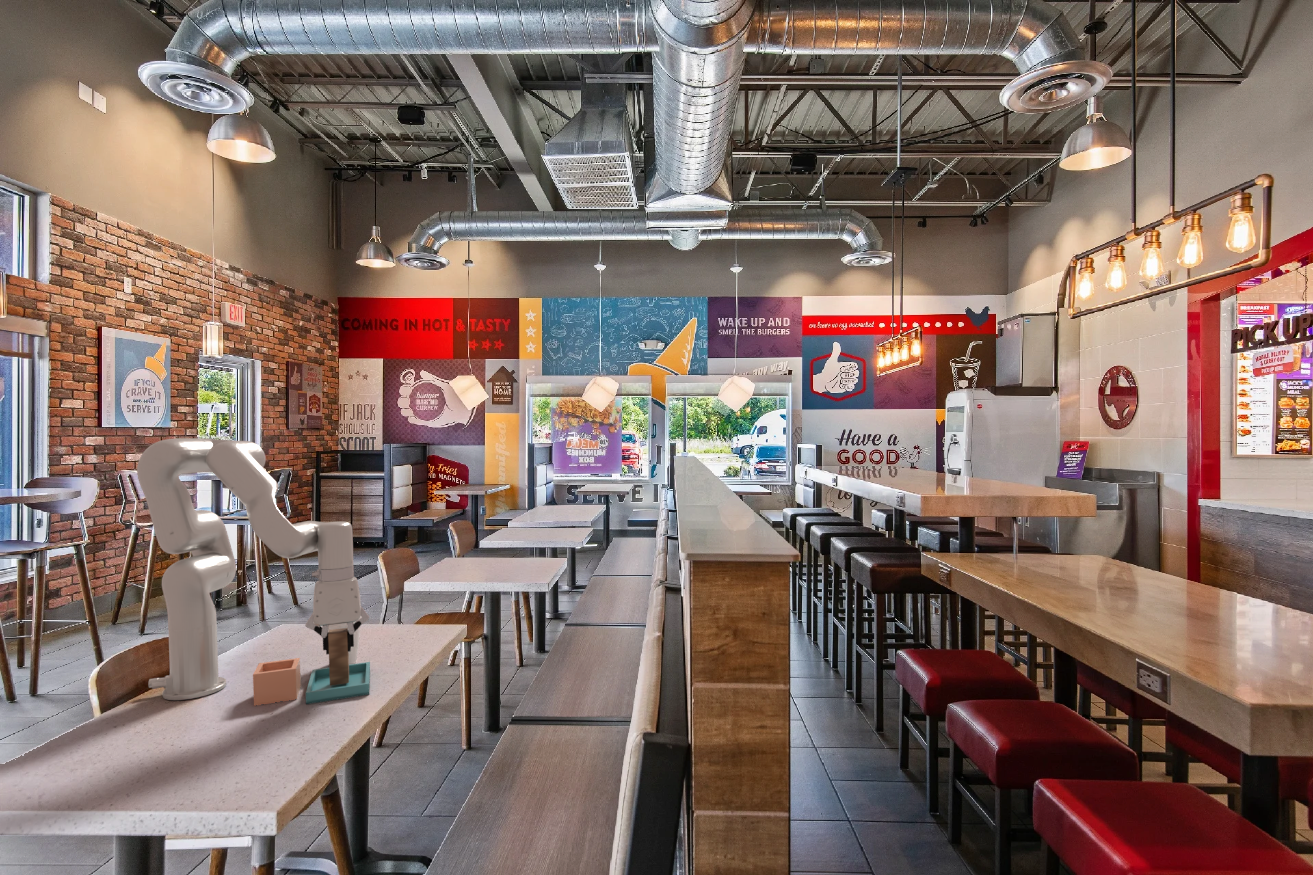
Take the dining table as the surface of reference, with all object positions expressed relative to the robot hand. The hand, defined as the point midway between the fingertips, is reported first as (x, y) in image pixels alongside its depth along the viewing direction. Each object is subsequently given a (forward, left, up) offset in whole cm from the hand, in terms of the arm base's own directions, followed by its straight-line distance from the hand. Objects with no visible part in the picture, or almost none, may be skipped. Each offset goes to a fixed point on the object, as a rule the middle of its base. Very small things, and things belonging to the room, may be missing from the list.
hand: (338, 650), depth 164 cm
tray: (0, 0, -9) cm, 9 cm away
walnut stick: (0, 0, -7) cm, 7 cm away
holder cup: (-13, 0, -9) cm, 16 cm away
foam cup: (0, +19, -9) cm, 21 cm away
